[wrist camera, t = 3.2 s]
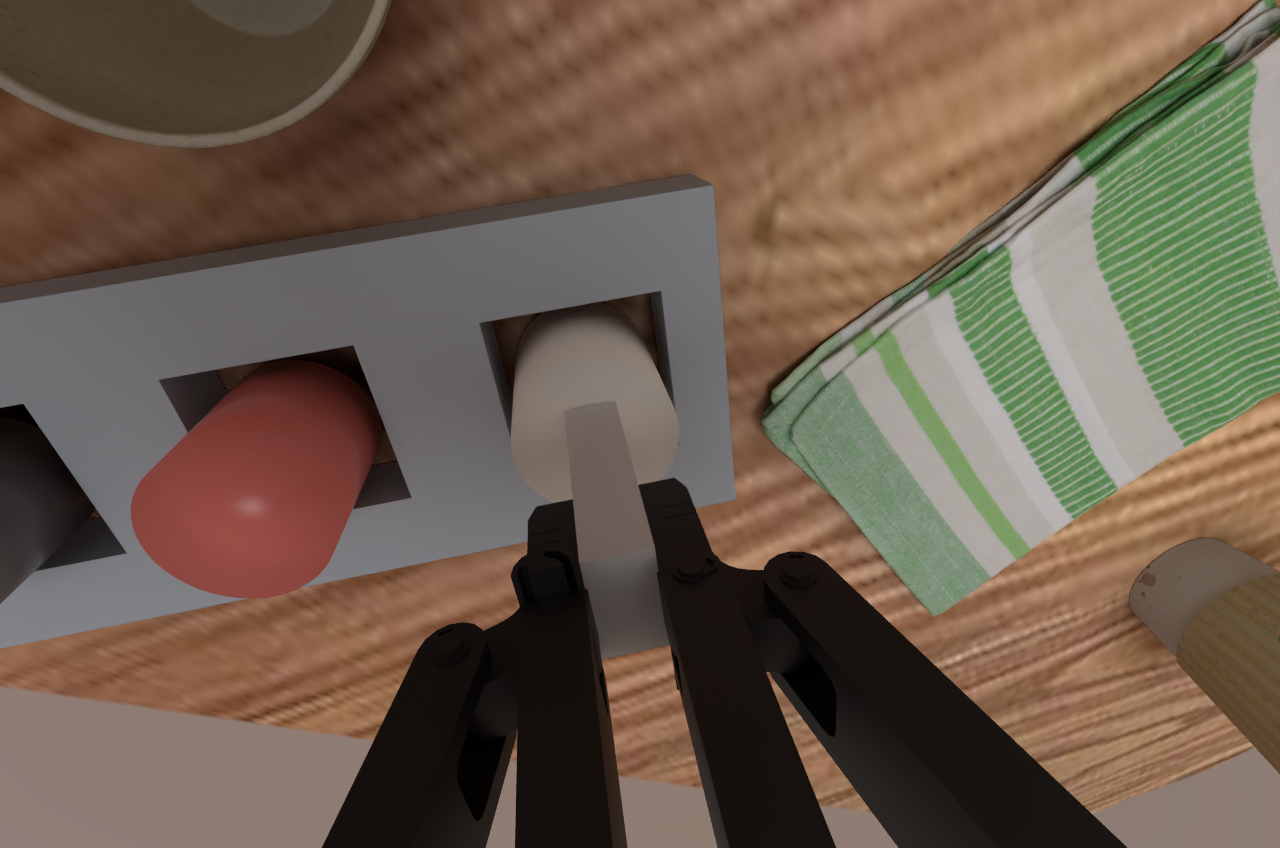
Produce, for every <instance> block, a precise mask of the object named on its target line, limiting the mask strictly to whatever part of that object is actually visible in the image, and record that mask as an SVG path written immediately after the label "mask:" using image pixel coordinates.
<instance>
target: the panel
mask: <svg viewBox="0 0 1280 848" xmlns="http://www.w3.org/2000/svg"><path fill="white" fill-rule="evenodd" d="M646 293H650V299H651V306H652V314H653V322H654V330H655V338H656V345H657V353H658V361H659V369H660V377H661V380H662V382H663V384H664V386H665V388H666V391H667V393H668V395H669V397H670V400H671V402H672V404H673V406H674V409H675V412H676V415H677V418H678V423H679V443H678V448H677V452H676V455H675V458H674V460H673V463H672V464H671V466H670V468H669V470H668V471H667V473H666V474H665V475H664V477H663V478H662V479H661V480H665V479H670V478H676V479H677V480H678V481H680V482H681V483H682V484H683V485H685V486H686V487H687V489H688V491H689V494H690V496H691V499H692V502H693V504H694V506H695V508H697V507H702V506H707V505H712V504H717V503H722V502H727V501H732V500H736V495H735V481H734V467H733V453H732V438H731V424H730V410H729V396H728V382H727V368H726V354H725V340H724V326H723V312H722V297H721V283H720V269H719V255H718V241H717V227H716V213H715V199H714V185H712V184H710V183H708V182H707V181H705V180H703V179H701V178H699V177H697V176H695V175H693V174H688V175H682V176H676V177H670V178H664V179H658V180H652V181H646V182H640V183H633V184H627V185H621V186H615V187H609V188H603V189H597V190H591V191H585V192H579V193H573V194H567V195H560V196H554V197H548V198H542V199H536V200H530V201H524V202H518V203H512V204H506V205H500V206H493V207H487V208H481V209H475V210H469V211H463V212H457V213H451V214H445V215H439V216H433V217H426V218H420V219H414V220H408V221H402V222H396V223H390V224H384V225H378V226H372V227H366V228H359V229H353V230H347V231H341V232H335V233H329V234H323V235H317V236H311V237H305V238H299V239H293V240H286V241H280V242H274V243H268V244H262V245H256V246H250V247H244V248H238V249H232V250H226V251H219V252H213V253H207V254H201V255H195V256H189V257H183V258H177V259H171V260H165V261H159V262H152V263H146V264H140V265H134V266H128V267H122V268H116V269H110V270H104V271H98V272H92V273H85V274H79V275H73V276H67V277H61V278H55V279H49V280H43V281H37V282H31V283H25V284H19V285H12V286H6V287H0V408H2V407H7V406H13V405H19V404H24V405H25V407H26V408H27V410H28V411H29V413H30V414H31V415H32V417H33V418H34V420H35V421H36V423H37V424H38V426H39V427H40V428H41V430H42V431H43V433H44V434H45V436H46V437H47V439H48V440H49V441H50V443H51V444H52V446H53V447H54V449H55V450H56V452H57V453H58V454H59V456H60V457H61V459H62V460H63V462H64V463H65V464H66V466H67V467H68V469H69V470H70V472H71V473H72V475H73V476H74V477H75V479H76V480H77V482H78V483H79V485H80V486H81V488H82V489H83V490H84V492H85V493H86V495H87V496H88V498H89V499H90V501H91V502H92V503H93V505H94V506H95V508H96V509H97V511H98V512H99V514H100V515H101V516H102V517H101V518H96V519H91V520H87V521H86V522H85V523H84V524H83V525H82V526H81V527H80V528H79V529H78V530H77V531H76V532H75V533H74V534H73V535H72V536H71V537H70V538H69V539H68V540H66V541H65V542H64V543H63V544H62V545H61V546H60V547H59V548H58V549H57V550H56V551H55V552H54V553H53V554H52V555H51V556H50V557H49V558H48V559H47V560H46V561H45V562H44V563H43V564H42V565H40V566H39V567H38V568H37V569H36V570H35V571H34V572H33V573H32V574H31V575H30V576H29V577H28V578H27V579H26V580H25V581H24V582H23V583H22V584H21V585H20V586H19V587H18V588H17V589H16V590H14V591H13V592H12V593H11V594H10V595H9V596H8V597H7V598H6V599H5V600H4V601H3V602H2V603H1V604H0V649H1V648H6V647H10V646H15V645H20V644H25V643H30V642H35V641H40V640H45V639H50V638H55V637H60V636H65V635H70V634H75V633H80V632H85V631H90V630H94V629H99V628H104V627H109V626H114V625H119V624H124V623H129V622H134V621H139V620H144V619H149V618H154V617H159V616H164V615H169V614H174V613H178V612H183V611H188V610H193V609H198V608H203V607H208V606H213V605H218V604H223V603H228V602H233V601H238V600H243V599H248V598H235V597H226V596H222V595H217V594H213V593H209V592H206V591H203V590H200V589H197V588H195V587H193V586H190V585H188V584H186V583H184V582H182V581H180V580H178V579H177V578H175V577H173V576H172V575H170V574H169V573H167V572H166V571H165V570H164V569H162V568H161V567H160V566H159V565H157V564H156V563H155V562H154V561H153V560H152V559H151V558H150V557H149V555H148V554H147V553H146V552H145V550H144V549H143V548H142V546H141V544H140V543H139V541H138V539H137V537H136V535H135V532H134V530H133V526H132V521H131V502H132V497H133V495H134V492H135V489H136V487H137V486H138V484H139V483H140V481H141V480H142V478H143V477H144V476H145V475H146V474H147V473H148V472H149V471H150V470H151V469H152V468H153V467H154V466H155V465H156V464H157V463H158V462H159V461H160V460H161V459H162V458H163V457H164V456H165V455H166V454H167V453H168V452H169V451H170V450H171V449H172V448H173V447H174V446H175V445H176V444H177V443H178V442H179V441H180V440H181V439H182V438H183V437H184V436H185V435H186V434H187V433H188V432H189V431H190V430H191V429H192V428H193V427H194V426H195V425H197V424H198V423H199V422H200V421H201V420H202V419H203V418H204V417H205V416H206V415H207V414H208V413H209V412H210V411H211V410H212V409H213V408H214V407H215V406H216V405H217V404H218V403H219V402H220V401H221V400H222V399H223V398H224V397H225V396H226V395H227V392H226V390H225V388H224V386H223V384H222V382H221V380H220V378H219V376H218V374H217V372H216V371H215V370H217V369H222V368H228V367H234V366H239V365H245V364H250V363H256V362H262V361H267V360H273V359H279V358H284V357H290V356H296V355H301V354H307V353H313V352H318V351H324V350H330V349H335V348H341V347H347V346H352V345H354V348H355V351H356V353H357V356H358V359H359V361H360V364H361V366H362V369H363V372H364V374H365V377H366V379H367V382H368V385H369V387H370V390H371V393H372V395H373V398H374V400H375V403H376V406H377V408H378V411H379V413H380V416H381V419H382V421H383V424H384V427H385V429H386V432H387V434H388V437H389V440H390V442H391V445H392V447H393V450H394V453H395V455H396V458H397V461H395V462H390V463H385V464H379V465H374V466H371V468H370V470H369V473H368V475H367V477H366V479H365V482H364V484H363V486H362V489H361V491H360V493H359V496H358V498H357V500H356V503H355V505H354V507H353V510H352V512H351V514H350V517H349V519H348V521H347V523H346V526H345V528H344V530H343V533H342V535H341V537H340V540H339V542H338V544H337V547H336V549H335V551H334V554H333V556H332V558H331V560H330V562H329V563H328V565H327V566H326V568H325V569H324V570H323V571H322V572H321V573H320V574H319V575H318V576H317V577H316V578H315V579H314V580H312V581H311V582H309V583H308V584H306V585H304V586H302V587H307V586H312V585H317V584H322V583H327V582H332V581H337V580H342V579H346V578H351V577H356V576H361V575H366V574H371V573H376V572H381V571H386V570H391V569H396V568H401V567H406V566H411V565H416V564H421V563H426V562H430V561H435V560H440V559H445V558H450V557H455V556H460V555H465V554H470V553H475V552H480V551H485V550H490V549H495V548H500V547H505V546H510V545H514V544H519V543H524V542H528V519H529V518H530V516H531V514H532V513H533V511H534V509H535V508H536V506H541V505H546V504H551V503H553V502H550V501H548V500H547V499H545V498H543V497H542V496H540V495H539V494H538V493H536V492H535V491H534V490H533V489H532V488H531V487H530V486H529V485H528V484H527V483H526V482H525V481H524V479H523V478H522V476H521V475H520V473H519V471H518V469H517V468H516V465H515V462H514V460H513V456H512V451H511V423H512V407H513V401H512V397H511V393H510V389H509V385H508V382H507V378H506V374H505V370H504V366H503V362H502V359H501V355H500V351H499V347H498V343H497V339H496V336H495V332H494V328H493V324H492V321H493V320H499V319H505V318H510V317H516V316H522V315H527V314H533V313H539V312H544V311H550V310H556V309H561V308H567V307H573V306H578V305H584V304H590V303H595V302H601V301H607V300H612V299H618V298H623V297H629V296H635V295H640V294H646ZM302 587H300V588H302Z"/></svg>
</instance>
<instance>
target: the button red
mask: <svg viewBox="0 0 1280 848" xmlns="http://www.w3.org/2000/svg"><path fill="white" fill-rule="evenodd" d="M381 437H382V427H381V420H380V417H379V414H378V411H377V409H376V407H375V405H374V403H373V402H372V400H371V398H370V397H369V396H368V394H367V393H366V392H365V391H364V390H363V389H362V388H361V387H360V386H359V385H358V384H357V383H356V382H355V381H353V380H352V379H351V378H349V377H348V376H346V375H344V374H343V373H341V372H339V371H337V370H335V369H333V368H331V367H328V366H325V365H322V364H319V363H314V362H310V361H302V360H285V361H277V362H273V363H269V364H266V365H264V366H261V367H259V368H257V369H255V370H254V371H252V372H250V373H249V374H248V375H247V376H245V377H244V378H243V379H242V380H241V381H240V382H239V383H238V384H237V385H236V386H235V387H234V388H233V389H232V390H231V391H230V392H229V393H228V394H227V395H226V396H225V397H224V398H223V399H222V400H221V401H220V402H219V403H218V404H217V405H216V406H215V407H214V408H213V409H212V410H211V411H210V412H209V413H208V414H207V415H206V416H205V417H204V418H203V419H202V420H201V421H200V422H199V423H198V424H197V425H195V426H194V427H193V428H192V429H191V430H190V431H189V432H188V433H187V434H186V435H185V436H184V437H183V438H182V439H181V440H180V441H179V442H178V443H177V444H176V445H175V446H174V447H173V448H172V449H171V450H170V451H169V452H168V453H167V454H166V455H165V456H164V457H163V458H162V459H161V460H160V461H159V462H158V463H157V464H156V465H155V466H154V467H153V468H152V469H151V470H150V471H149V472H148V473H147V474H146V475H145V476H144V477H143V478H142V480H141V481H140V483H139V484H138V486H137V487H136V489H135V492H134V495H133V497H132V502H131V521H132V526H133V530H134V532H135V535H136V537H137V539H138V541H139V543H140V544H141V546H142V548H143V549H144V550H145V552H146V553H147V554H148V555H149V557H150V558H151V559H152V560H153V561H154V562H155V563H156V564H157V565H159V566H160V567H161V568H162V569H164V570H165V571H166V572H167V573H169V574H170V575H172V576H173V577H175V578H177V579H178V580H180V581H182V582H184V583H186V584H188V585H190V586H193V587H195V588H197V589H200V590H203V591H206V592H209V593H213V594H217V595H222V596H226V597H235V598H266V597H272V596H278V595H281V594H285V593H288V592H291V591H294V590H296V589H299V588H300V587H302V586H304V585H306V584H308V583H309V582H311V581H312V580H314V579H315V578H316V577H317V576H318V575H319V574H320V573H321V572H322V571H323V570H324V569H325V568H326V566H327V565H328V563H329V562H330V560H331V558H332V556H333V554H334V551H335V549H336V547H337V544H338V542H339V540H340V537H341V535H342V533H343V530H344V528H345V526H346V523H347V521H348V519H349V517H350V514H351V512H352V510H353V507H354V505H355V503H356V500H357V498H358V496H359V493H360V491H361V489H362V486H363V484H364V482H365V479H366V477H367V475H368V473H369V470H370V468H371V466H372V463H373V461H374V459H375V456H376V454H377V452H378V449H379V446H380V443H381Z"/></svg>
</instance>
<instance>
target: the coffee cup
mask: <svg viewBox="0 0 1280 848" xmlns="http://www.w3.org/2000/svg"><path fill="white" fill-rule="evenodd" d="M1129 602H1130V607H1131V609H1132V611H1133V612H1134V614H1135V615H1136V616H1137V617H1138V618H1139V619H1140V620H1141V621H1142V622H1143V623H1144V624H1145V625H1146V626H1147V627H1148V628H1149V630H1150V631H1151V632H1152V633H1153V634H1154V635H1155V636H1156V637H1157V638H1158V639H1159V640H1160V641H1161V642H1162V643H1163V644H1164V645H1165V647H1166V648H1167V649H1168V650H1169V651H1170V652H1171V653H1172V654H1173V655H1174V656H1175V657H1176V658H1177V661H1178V663H1179V665H1180V667H1181V668H1182V669H1183V670H1184V671H1185V672H1186V673H1187V674H1188V675H1189V676H1190V677H1191V678H1192V680H1193V681H1194V682H1195V683H1196V684H1197V685H1198V686H1199V687H1200V688H1201V689H1202V690H1203V691H1204V693H1205V694H1206V695H1207V696H1208V697H1209V698H1210V699H1211V700H1212V701H1213V702H1214V703H1215V704H1216V705H1217V707H1218V708H1219V709H1220V710H1221V711H1222V712H1223V713H1224V714H1225V715H1226V716H1227V717H1228V718H1229V720H1230V721H1231V722H1232V723H1233V724H1234V725H1235V726H1236V727H1237V728H1238V729H1239V730H1240V731H1241V733H1242V734H1243V735H1244V736H1245V737H1246V738H1247V739H1248V740H1249V741H1250V742H1251V743H1252V744H1253V745H1254V747H1255V748H1256V749H1257V750H1258V751H1259V752H1260V753H1261V754H1262V755H1263V756H1264V757H1265V758H1266V759H1267V760H1268V762H1269V763H1270V764H1271V765H1272V766H1273V767H1274V768H1275V769H1276V770H1277V771H1278V773H1279V774H1280V571H1278V570H1276V569H1274V568H1272V567H1270V566H1268V565H1266V564H1265V563H1263V562H1261V561H1259V560H1257V559H1255V558H1253V557H1251V556H1249V555H1247V554H1245V553H1243V552H1242V551H1240V550H1238V549H1236V548H1234V547H1232V546H1230V545H1228V544H1226V543H1224V542H1222V541H1220V540H1218V539H1213V538H1200V539H1195V540H1191V541H1188V542H1185V543H1182V544H1180V545H1178V546H1176V547H1174V548H1172V549H1170V550H1168V551H1167V552H1165V553H1163V554H1162V555H1161V556H1159V557H1158V558H1157V559H1155V560H1154V561H1153V562H1152V563H1151V564H1150V565H1149V566H1148V567H1147V568H1146V569H1145V570H1144V571H1143V572H1142V573H1141V574H1140V576H1139V577H1138V578H1137V580H1136V582H1135V583H1134V585H1133V587H1132V590H1131V593H1130V598H1129Z"/></svg>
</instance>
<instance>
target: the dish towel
mask: <svg viewBox="0 0 1280 848" xmlns="http://www.w3.org/2000/svg"><path fill="white" fill-rule="evenodd" d="M1279 390H1280V6H1279V7H1277V6H1276V3H1275V1H1274V0H1259V1H1258V2H1257V3H1256V4H1255V5H1254V6H1253V7H1252V8H1251V10H1250V11H1248V12H1247V13H1246V14H1245V15H1244V16H1243V17H1242V18H1241V19H1240V20H1239V21H1238V22H1236V23H1235V24H1234V25H1233V26H1232V27H1231V28H1229V29H1228V30H1227V31H1225V32H1224V33H1223V34H1221V35H1220V36H1219V37H1217V38H1216V39H1214V40H1213V41H1211V42H1210V43H1208V44H1207V45H1205V46H1204V47H1202V48H1201V49H1199V50H1198V51H1197V52H1196V53H1195V54H1194V55H1193V56H1192V57H1190V58H1189V59H1188V60H1187V61H1186V62H1184V63H1183V64H1181V65H1180V66H1178V67H1177V68H1175V69H1174V70H1172V71H1171V72H1169V73H1168V74H1167V75H1166V76H1164V77H1163V78H1162V79H1161V80H1160V81H1159V82H1158V83H1157V84H1156V85H1155V86H1153V87H1152V88H1151V89H1150V90H1149V91H1148V92H1147V93H1146V94H1144V95H1143V96H1141V97H1140V98H1139V99H1137V100H1136V101H1135V102H1133V103H1132V104H1130V105H1129V106H1127V107H1126V108H1124V109H1123V110H1122V111H1120V112H1119V113H1118V114H1117V115H1115V116H1114V117H1113V118H1112V119H1111V120H1110V121H1109V122H1108V123H1107V124H1106V125H1104V126H1103V127H1102V128H1101V129H1100V130H1099V131H1098V132H1097V133H1096V134H1095V135H1094V136H1092V137H1091V138H1090V139H1089V140H1088V141H1087V142H1086V143H1085V144H1083V145H1082V146H1080V147H1079V148H1077V149H1076V150H1074V151H1073V152H1072V153H1071V154H1070V155H1069V156H1067V157H1066V158H1065V159H1064V160H1062V161H1061V162H1060V163H1059V164H1057V165H1056V166H1055V167H1054V168H1053V169H1052V170H1050V171H1049V172H1048V173H1047V174H1046V175H1045V176H1043V177H1042V178H1041V179H1040V180H1039V181H1037V182H1036V183H1035V184H1034V185H1032V186H1031V187H1030V188H1028V189H1027V190H1026V191H1024V192H1023V193H1022V194H1021V195H1019V196H1018V197H1017V198H1015V199H1014V200H1012V201H1011V202H1009V203H1008V204H1007V205H1006V206H1004V207H1003V208H1002V209H1000V210H999V211H998V212H996V213H995V214H994V215H992V216H991V217H990V218H988V219H987V220H985V221H984V222H982V223H981V224H980V225H978V226H977V227H976V228H974V229H973V230H972V231H971V232H969V233H968V234H967V235H966V236H965V237H964V238H963V239H961V240H960V241H959V242H958V243H957V244H956V245H955V246H954V247H953V248H952V249H951V250H950V252H949V253H948V254H947V255H946V256H945V257H944V258H943V259H941V260H940V261H939V262H937V263H936V264H935V265H933V266H932V267H930V268H929V269H928V270H926V271H925V272H923V273H922V274H921V275H920V276H919V277H918V278H917V279H916V280H914V281H913V282H911V283H910V284H908V285H907V286H905V287H903V288H901V289H900V290H898V291H897V292H895V293H894V294H892V295H890V296H889V297H887V298H885V299H884V300H882V301H881V302H879V303H878V304H876V305H875V306H874V307H872V308H871V309H870V310H869V311H867V312H866V313H865V314H864V315H862V316H861V317H860V318H858V319H856V320H855V321H853V322H852V323H851V324H849V325H848V326H846V327H845V328H844V329H842V330H841V331H839V332H838V333H836V334H835V335H834V336H832V337H831V338H830V339H828V340H827V341H826V342H824V343H823V344H822V345H820V346H819V347H818V348H817V350H816V351H815V352H814V353H813V354H811V355H810V356H809V357H807V358H806V359H805V361H803V362H802V363H801V364H800V365H799V366H798V367H797V368H796V369H795V370H794V371H793V372H792V373H791V374H790V375H789V376H788V377H787V378H786V379H785V380H783V381H782V382H781V383H780V384H779V385H777V386H776V387H775V388H774V389H773V390H772V393H771V401H772V404H771V405H770V406H769V407H768V408H767V409H766V410H765V412H764V413H763V415H764V416H765V418H763V419H762V421H761V423H762V425H763V430H764V432H765V433H766V435H767V436H768V438H769V439H770V440H771V441H772V443H773V444H774V445H775V446H776V447H777V448H778V449H779V450H780V451H782V452H783V453H784V454H785V455H787V456H788V457H789V458H790V459H791V460H792V461H793V462H794V463H796V464H797V465H798V466H799V467H800V468H801V469H802V470H803V471H804V472H805V473H806V474H807V475H808V476H810V477H811V478H812V479H813V480H814V481H815V482H816V483H818V484H819V485H820V486H821V487H822V488H823V489H825V490H826V491H827V492H828V493H829V494H830V495H831V496H833V497H834V498H835V499H836V500H837V501H838V502H839V503H840V505H841V506H842V507H843V509H844V510H845V511H846V512H847V513H848V514H849V516H850V517H851V518H852V519H853V520H854V522H855V523H856V524H857V526H858V527H859V528H860V530H861V531H862V532H863V533H864V535H865V536H866V537H867V538H868V539H869V541H870V542H871V543H872V544H873V546H874V547H875V548H876V549H877V550H878V552H879V553H880V554H881V555H882V557H883V558H884V559H885V560H886V562H887V563H888V564H889V566H890V567H891V568H892V569H893V570H894V572H895V573H896V574H897V575H898V576H899V577H900V579H901V580H902V581H903V582H904V583H905V584H906V586H907V587H908V588H909V590H910V591H911V592H912V593H913V594H914V595H915V597H916V598H917V599H918V600H919V601H920V602H921V604H922V605H923V606H924V607H925V608H926V609H927V610H928V611H929V613H930V614H931V615H932V616H933V617H935V616H936V615H938V614H940V613H942V612H944V611H946V610H947V609H949V608H950V607H952V606H953V605H955V604H956V603H957V602H959V601H960V600H962V599H963V598H964V597H966V596H967V595H969V594H970V593H971V592H973V591H974V590H975V589H977V588H978V587H979V586H981V585H982V584H983V583H985V582H986V581H987V580H989V579H990V578H992V577H993V576H994V575H996V574H997V573H998V572H1000V571H1001V570H1002V569H1004V568H1005V567H1007V566H1008V565H1010V564H1011V563H1013V562H1014V561H1016V560H1018V559H1019V558H1021V557H1022V556H1023V555H1025V554H1026V553H1027V552H1029V551H1030V550H1031V549H1033V548H1034V547H1036V546H1037V545H1039V544H1040V543H1041V542H1043V541H1044V540H1046V539H1047V538H1049V537H1050V536H1051V535H1053V534H1054V533H1056V532H1057V531H1059V530H1060V529H1062V528H1063V527H1064V526H1066V525H1067V524H1069V523H1070V522H1072V521H1073V520H1075V519H1076V518H1078V517H1079V516H1081V515H1082V514H1083V513H1085V512H1086V511H1087V510H1089V509H1090V508H1092V507H1093V506H1095V505H1097V504H1098V503H1100V502H1101V501H1103V500H1104V499H1106V498H1107V497H1108V496H1110V495H1112V494H1113V493H1115V492H1116V491H1117V490H1119V489H1120V488H1121V487H1123V486H1124V485H1126V484H1127V483H1130V482H1132V481H1133V480H1135V479H1136V478H1138V477H1139V476H1141V475H1142V474H1144V473H1145V472H1147V471H1148V470H1150V469H1151V468H1153V467H1154V466H1156V465H1157V464H1159V463H1160V462H1162V461H1164V460H1165V459H1167V458H1168V457H1170V456H1171V455H1173V454H1174V453H1176V452H1177V451H1179V450H1181V449H1184V448H1186V447H1187V446H1189V445H1191V444H1193V443H1195V442H1196V441H1198V440H1200V439H1201V438H1203V437H1204V436H1206V435H1208V434H1209V433H1211V432H1213V431H1215V430H1216V429H1218V428H1221V427H1223V426H1224V425H1226V424H1227V423H1229V422H1230V421H1232V420H1234V419H1235V418H1237V417H1238V416H1240V415H1241V414H1243V413H1244V412H1246V411H1247V410H1249V409H1250V408H1252V407H1253V406H1255V405H1256V404H1257V403H1258V402H1259V401H1261V400H1263V399H1265V398H1267V397H1269V396H1271V395H1273V394H1275V393H1276V392H1278V391H1279Z"/></svg>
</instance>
